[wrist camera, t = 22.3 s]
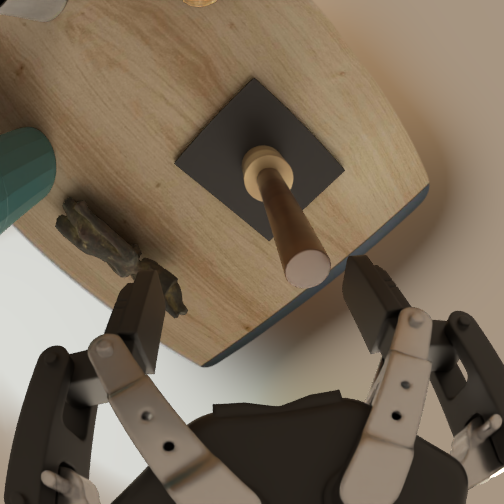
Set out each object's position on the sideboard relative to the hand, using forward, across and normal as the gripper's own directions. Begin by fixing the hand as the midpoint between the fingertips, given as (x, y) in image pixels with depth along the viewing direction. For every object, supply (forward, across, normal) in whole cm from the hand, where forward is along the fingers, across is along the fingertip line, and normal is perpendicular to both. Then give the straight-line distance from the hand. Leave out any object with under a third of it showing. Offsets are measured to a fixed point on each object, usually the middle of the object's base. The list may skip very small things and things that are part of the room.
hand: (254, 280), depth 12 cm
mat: (+21, -3, 0) cm, 21 cm away
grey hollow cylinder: (+21, +20, -23) cm, 37 cm away
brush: (+20, -3, +1) cm, 20 cm away
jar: (+21, +26, -3) cm, 34 cm away
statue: (+21, +14, +9) cm, 27 cm away
